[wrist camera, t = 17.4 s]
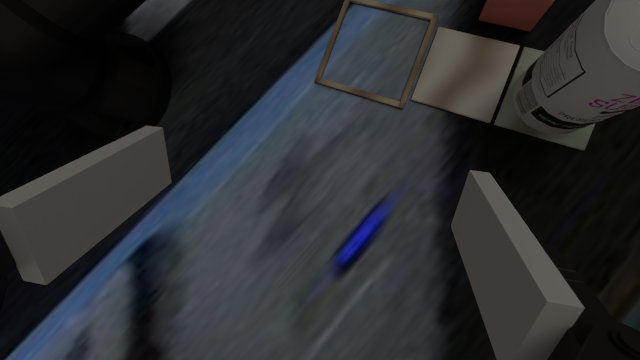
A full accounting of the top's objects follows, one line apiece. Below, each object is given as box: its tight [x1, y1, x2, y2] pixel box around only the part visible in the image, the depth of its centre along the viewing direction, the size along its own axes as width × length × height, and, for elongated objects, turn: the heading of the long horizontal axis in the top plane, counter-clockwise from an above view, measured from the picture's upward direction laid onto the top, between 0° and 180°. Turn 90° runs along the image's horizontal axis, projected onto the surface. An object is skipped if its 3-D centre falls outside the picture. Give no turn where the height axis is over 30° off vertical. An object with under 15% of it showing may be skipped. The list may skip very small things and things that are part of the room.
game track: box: [315, 0, 595, 151], centre depth 37 cm, size 31×12×1 cm, turn 69°
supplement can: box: [513, 0, 640, 135], centre depth 27 cm, size 8×8×15 cm
